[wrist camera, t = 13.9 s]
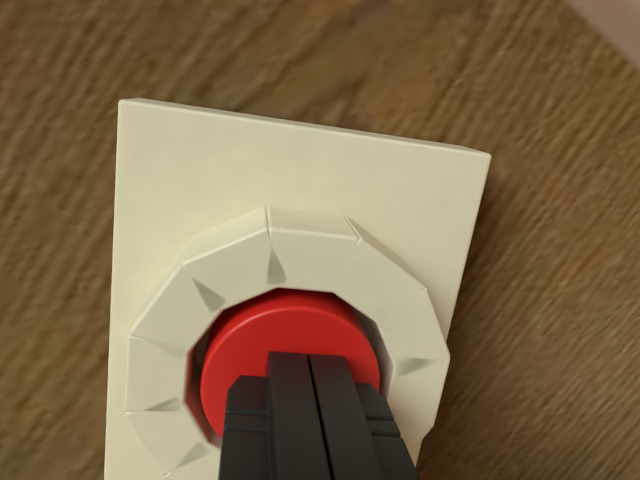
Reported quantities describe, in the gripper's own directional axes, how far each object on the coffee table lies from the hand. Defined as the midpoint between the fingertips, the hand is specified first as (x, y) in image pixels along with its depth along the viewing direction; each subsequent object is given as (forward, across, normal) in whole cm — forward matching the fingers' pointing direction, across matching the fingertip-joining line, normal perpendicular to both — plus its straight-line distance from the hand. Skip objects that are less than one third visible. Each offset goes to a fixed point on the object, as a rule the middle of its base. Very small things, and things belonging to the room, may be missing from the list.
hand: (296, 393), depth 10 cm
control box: (+4, 0, 0) cm, 4 cm away
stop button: (+2, 0, 0) cm, 2 cm away
